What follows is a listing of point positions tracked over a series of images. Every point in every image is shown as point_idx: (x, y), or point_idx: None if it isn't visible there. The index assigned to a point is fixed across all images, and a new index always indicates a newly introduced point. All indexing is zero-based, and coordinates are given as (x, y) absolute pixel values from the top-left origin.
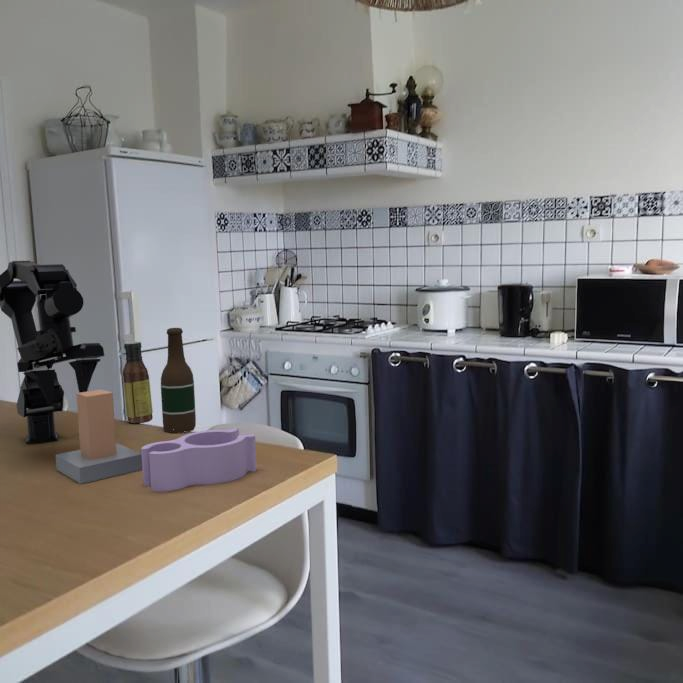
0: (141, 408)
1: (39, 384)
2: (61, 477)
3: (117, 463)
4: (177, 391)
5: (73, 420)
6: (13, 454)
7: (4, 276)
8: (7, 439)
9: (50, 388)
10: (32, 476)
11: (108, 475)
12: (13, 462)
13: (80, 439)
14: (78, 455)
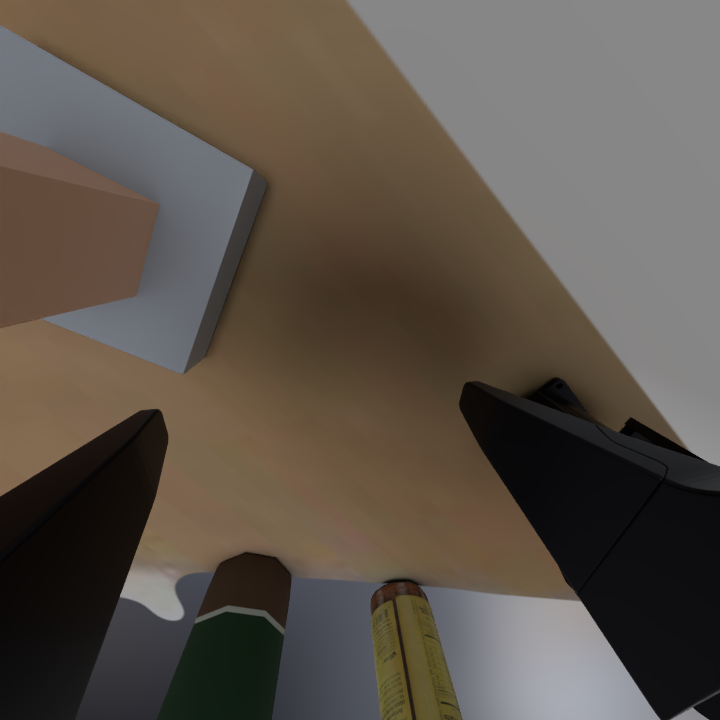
0: (381, 630)
1: (626, 445)
2: (178, 108)
3: None
4: (170, 711)
5: None
6: (532, 285)
7: None
8: (643, 399)
9: (524, 472)
10: (287, 83)
11: None
12: (474, 211)
13: (102, 187)
14: (155, 189)
